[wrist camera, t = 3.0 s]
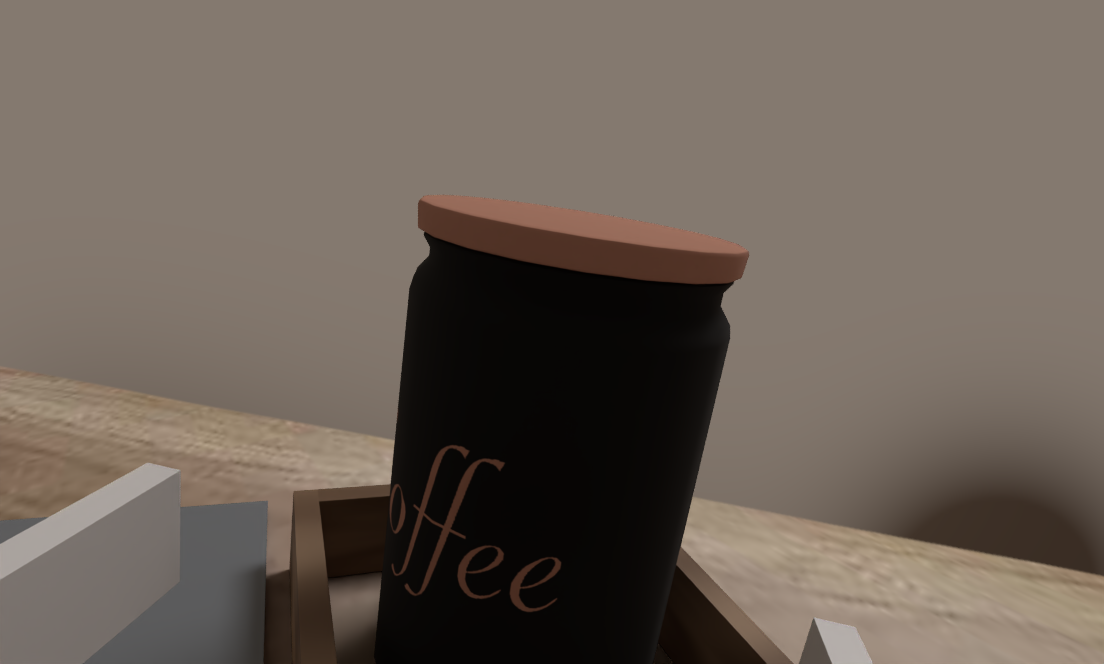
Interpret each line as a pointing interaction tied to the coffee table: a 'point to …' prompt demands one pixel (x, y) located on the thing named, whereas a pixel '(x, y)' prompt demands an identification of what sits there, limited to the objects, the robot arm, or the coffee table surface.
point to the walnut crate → (358, 547)
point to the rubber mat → (199, 593)
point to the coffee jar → (547, 432)
